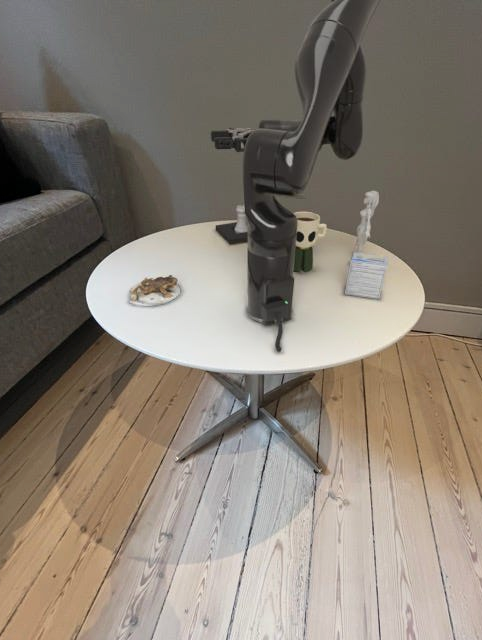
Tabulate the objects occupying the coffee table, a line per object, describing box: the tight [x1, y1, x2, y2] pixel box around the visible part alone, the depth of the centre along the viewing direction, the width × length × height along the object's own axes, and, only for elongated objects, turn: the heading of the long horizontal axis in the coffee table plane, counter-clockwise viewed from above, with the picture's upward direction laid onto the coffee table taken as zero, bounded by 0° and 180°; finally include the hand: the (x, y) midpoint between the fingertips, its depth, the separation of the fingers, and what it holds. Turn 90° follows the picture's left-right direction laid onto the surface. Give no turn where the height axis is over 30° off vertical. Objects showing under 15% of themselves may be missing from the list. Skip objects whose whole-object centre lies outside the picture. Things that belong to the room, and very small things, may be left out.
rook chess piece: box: [235, 204, 248, 233], centre depth 113 cm, size 4×4×8 cm
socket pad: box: [215, 221, 247, 245], centre depth 115 cm, size 12×12×2 cm
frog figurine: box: [128, 274, 182, 307], centre depth 87 cm, size 12×12×4 cm
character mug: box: [292, 211, 328, 273], centre depth 95 cm, size 11×7×13 cm, turn 94°
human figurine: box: [349, 190, 380, 264], centre depth 96 cm, size 12×4×18 cm, turn 173°
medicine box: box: [344, 251, 389, 300], centre depth 87 cm, size 8×4×9 cm, turn 74°
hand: (212, 139), depth 91 cm, fingers open, 8 cm apart
